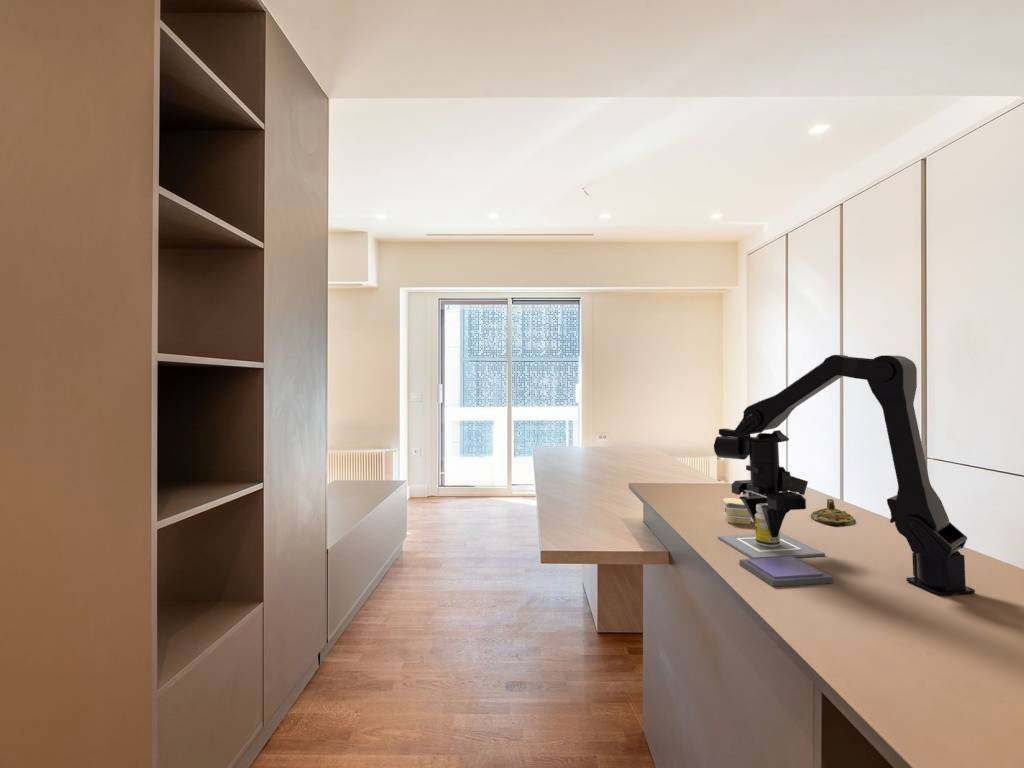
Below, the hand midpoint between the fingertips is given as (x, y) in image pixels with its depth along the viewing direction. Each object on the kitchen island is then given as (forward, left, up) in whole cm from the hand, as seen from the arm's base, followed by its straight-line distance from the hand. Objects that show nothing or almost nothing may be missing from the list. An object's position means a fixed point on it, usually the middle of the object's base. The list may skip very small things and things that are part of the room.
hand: (767, 533), depth 108 cm
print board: (0, 0, -3) cm, 3 cm away
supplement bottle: (0, 0, -2) cm, 2 cm away
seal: (+18, -28, -3) cm, 33 cm away
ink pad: (-15, +6, -3) cm, 16 cm away
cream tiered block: (+20, -4, -3) cm, 21 cm away
